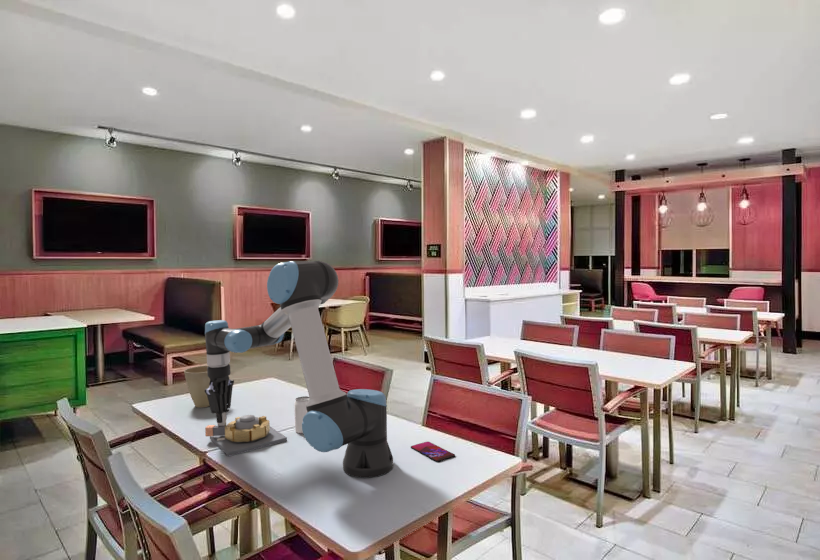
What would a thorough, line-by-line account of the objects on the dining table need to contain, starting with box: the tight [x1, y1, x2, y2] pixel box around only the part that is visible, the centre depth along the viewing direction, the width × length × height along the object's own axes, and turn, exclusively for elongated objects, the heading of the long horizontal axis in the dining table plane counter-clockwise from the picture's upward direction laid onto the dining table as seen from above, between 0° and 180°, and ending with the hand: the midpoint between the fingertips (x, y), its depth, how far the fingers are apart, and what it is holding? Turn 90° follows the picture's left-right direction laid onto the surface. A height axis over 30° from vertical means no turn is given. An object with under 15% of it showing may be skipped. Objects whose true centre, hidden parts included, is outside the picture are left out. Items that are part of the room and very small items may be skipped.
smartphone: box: [410, 441, 456, 463], centre depth 158 cm, size 8×1×15 cm
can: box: [294, 395, 310, 435], centre depth 179 cm, size 6×6×12 cm
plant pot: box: [183, 365, 210, 408], centre depth 213 cm, size 15×15×16 cm
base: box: [209, 414, 288, 457], centre depth 171 cm, size 20×20×8 cm
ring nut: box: [204, 415, 271, 442], centre depth 171 cm, size 21×14×4 cm, turn 93°
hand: (222, 430), depth 173 cm, fingers closed
